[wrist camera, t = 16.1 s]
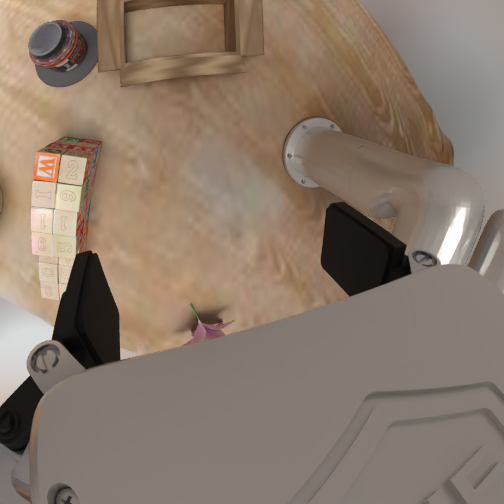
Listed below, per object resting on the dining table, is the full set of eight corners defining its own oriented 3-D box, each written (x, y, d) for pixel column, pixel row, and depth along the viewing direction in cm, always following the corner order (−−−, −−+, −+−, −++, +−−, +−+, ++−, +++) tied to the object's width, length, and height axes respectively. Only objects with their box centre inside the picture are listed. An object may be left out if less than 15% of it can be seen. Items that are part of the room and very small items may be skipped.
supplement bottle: (86, 69, 27) (66, 60, 18) (48, 76, 25) (17, 71, 16) (91, 30, 24) (74, 8, 15) (52, 37, 22) (24, 21, 13)
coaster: (100, 14, 24) (100, 13, 23) (102, 76, 29) (102, 75, 29) (36, 35, 21) (35, 34, 21) (38, 96, 26) (37, 96, 26)
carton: (243, -12, 28) (261, -27, 23) (247, 75, 36) (265, 72, 31) (103, -1, 22) (98, -17, 17) (106, 93, 31) (99, 92, 25)
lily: (160, 327, 56) (181, 368, 52) (168, 301, 48) (193, 350, 44) (209, 310, 63) (230, 347, 59) (225, 282, 55) (251, 325, 51)
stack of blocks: (85, 268, 43) (76, 317, 33) (52, 263, 40) (35, 311, 30) (102, 140, 34) (87, 157, 24) (63, 135, 31) (35, 151, 21)
